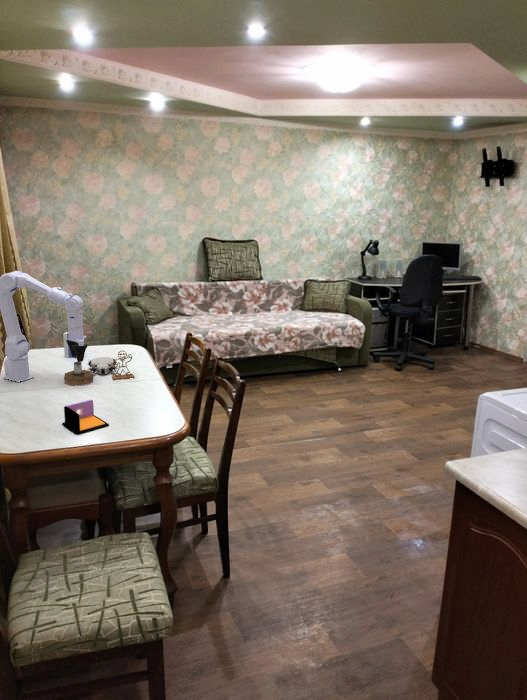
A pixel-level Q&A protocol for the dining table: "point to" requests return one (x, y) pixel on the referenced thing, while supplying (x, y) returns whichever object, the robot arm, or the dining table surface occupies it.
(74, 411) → the dollhouse room
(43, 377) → the dining table surface
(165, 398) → the dining table surface
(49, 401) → the dining table surface
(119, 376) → the cartoon figure standee
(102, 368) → the robot toy
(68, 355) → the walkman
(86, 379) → the walnut bead
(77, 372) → the metal cylinder
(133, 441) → the dining table surface
